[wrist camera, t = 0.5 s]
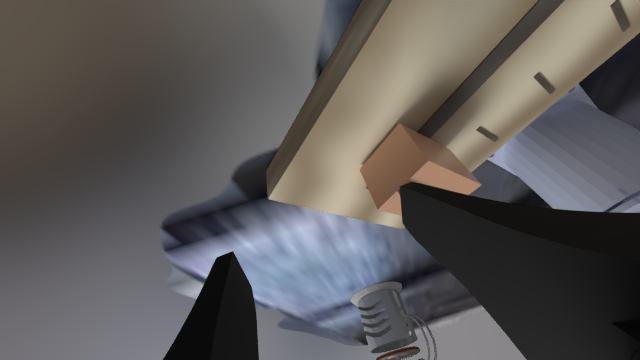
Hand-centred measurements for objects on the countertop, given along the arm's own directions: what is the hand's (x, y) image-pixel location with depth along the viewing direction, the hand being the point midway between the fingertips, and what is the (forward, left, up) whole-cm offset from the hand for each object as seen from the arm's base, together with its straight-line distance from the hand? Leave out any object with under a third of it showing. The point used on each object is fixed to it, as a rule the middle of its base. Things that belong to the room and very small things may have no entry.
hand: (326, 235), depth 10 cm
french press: (-30, +25, -10) cm, 40 cm away
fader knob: (-7, -2, -6) cm, 9 cm away
